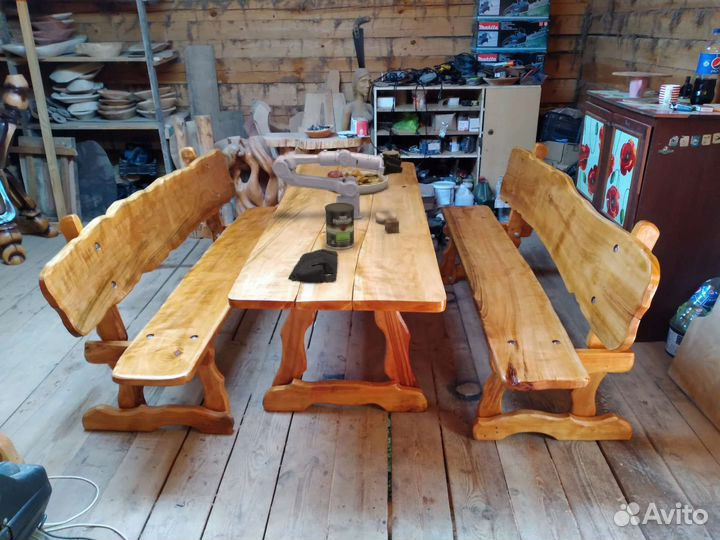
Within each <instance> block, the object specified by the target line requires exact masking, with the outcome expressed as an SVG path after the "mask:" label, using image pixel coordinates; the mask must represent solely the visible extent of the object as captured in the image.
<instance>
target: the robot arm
mask: <svg viewBox="0 0 720 540" xmlns="http://www.w3.org/2000/svg"><path fill="white" fill-rule="evenodd" d="M401 162H402V163H403V160H402V161H401V160H400V159H398V160H397V159H395V158H392V157H390V156H389V155H388V154H386V153H385V154H384V157H383V154H382V153H380V154H379V155H375V154H367V153H361V152H351V151H350V150H348V149H340V150H339V149H337V150H334V151H333V150H331V151H328V149H324V150H322V151H320V152H319V153H318V154H304V153H303V154H296V153H295V154H293V153H292V154H291V153H289V154H287V153H286V154H280V155H278V156H277V157H276V158H275V160H274V161H273V163H272V167H271V169H272V172H273V174H274V175H275V176H276V178H278V179H281V180H282V181H283V182H284V183H286V184H287V185H289V186H291V187H296V188H305V189H306V188H307V189H314V190H324V191H333V192H335V193H337V194H340V195H337V196H336V198H335V199H336V202H335V203H348V204H352V205H353V206H354V220H355V219H356V220H357V219H362V218H363V217H362V215H361V211H360V210H361V209H360V207H361V205H360V203H361V202H360V201H361V200H360V198H361V194H359V193H358V180H357V179H356V178H355V177H353V176H349V177H346V178H342V177H341V178H329V177H326V176H319V175H311V174H303V173H297V171H296V170H295V167H297V166H298V165H311V164H318V165H319V166H321V167H338V166H340V167H342V168H344V169H347V168H349V167H353V168H356V169H357V168H358V169H362V170H371V171H377V172H381V173H383V176H386V175H387V176H389V175H393V174H394V175H395V174H402V173H403V169H404V168H403V167H402V166H401V165H402V163H401Z"/></svg>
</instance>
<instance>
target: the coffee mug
mask: <svg viewBox="0 0 720 540" xmlns="http://www.w3.org/2000/svg"><path fill="white" fill-rule="evenodd" d="M385 153H386V154H388V155H389V156H390V157H392V158H395V159H397V160H400V161H402V162H401V164H402V163H403V159H402V158H401V157H400V156H399V154H400V152H399V151H396V150H384V151H382V156H383V157H384V154H385Z"/></svg>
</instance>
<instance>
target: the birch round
mask: <svg viewBox="0 0 720 540" xmlns="http://www.w3.org/2000/svg"><path fill="white" fill-rule="evenodd" d="M389 218H397V212H395V211H392V210H380V211H378V212H376V213H375V223H377V224H378V225H381V226H385V219H389Z"/></svg>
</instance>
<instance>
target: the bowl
mask: <svg viewBox="0 0 720 540" xmlns="http://www.w3.org/2000/svg"><path fill="white" fill-rule="evenodd" d="M349 176H353V177H355V178H356V179H357V180H358V193H359V194H360V195H368V194H374V193H377V192H380V191H382V190H383V189H385V187H387V185H388V183H389V175H386V176H383V173H382V172H379V171H376V170H369V169H359V168H358V169H357V168H356V169H346V170H339V169H338V170H337V169H336V170H332V171H331V170H330V171H329V172H328V173H327V175H326V176H325V177H329V178H341V177H342V178H346V177H349Z"/></svg>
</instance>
